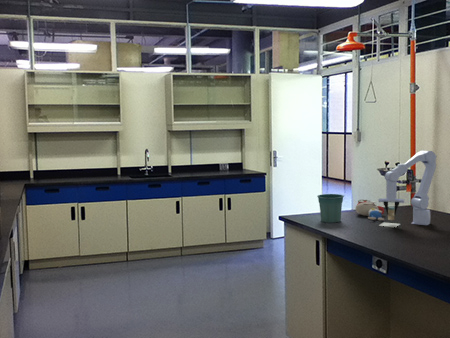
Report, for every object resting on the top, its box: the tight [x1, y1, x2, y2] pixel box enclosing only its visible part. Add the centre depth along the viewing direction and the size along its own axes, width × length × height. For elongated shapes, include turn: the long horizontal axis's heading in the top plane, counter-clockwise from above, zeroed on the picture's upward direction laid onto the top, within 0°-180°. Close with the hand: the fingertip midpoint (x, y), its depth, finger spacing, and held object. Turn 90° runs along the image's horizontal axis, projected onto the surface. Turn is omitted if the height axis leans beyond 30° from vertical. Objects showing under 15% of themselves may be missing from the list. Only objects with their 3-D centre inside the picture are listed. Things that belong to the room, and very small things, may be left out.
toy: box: [355, 199, 385, 221], centre depth 327 cm, size 18×10×30 cm
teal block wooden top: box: [387, 206, 395, 221], centre depth 299 cm, size 4×6×7 cm, turn 161°
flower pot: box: [317, 193, 345, 224], centre depth 318 cm, size 16×16×16 cm
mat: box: [378, 222, 401, 228], centre depth 301 cm, size 10×10×1 cm
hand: (391, 214), depth 299 cm, fingers closed on teal block wooden top, 3 cm apart
